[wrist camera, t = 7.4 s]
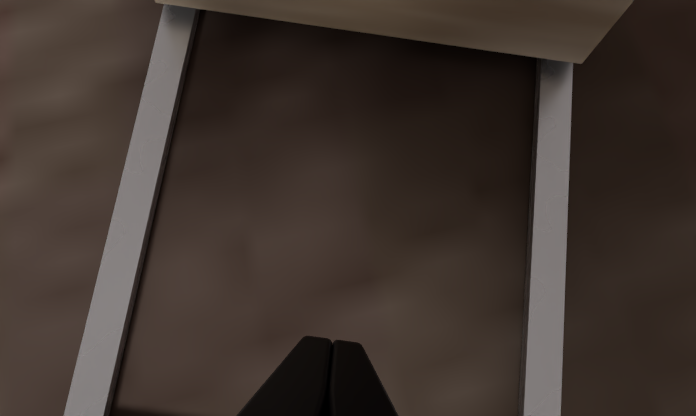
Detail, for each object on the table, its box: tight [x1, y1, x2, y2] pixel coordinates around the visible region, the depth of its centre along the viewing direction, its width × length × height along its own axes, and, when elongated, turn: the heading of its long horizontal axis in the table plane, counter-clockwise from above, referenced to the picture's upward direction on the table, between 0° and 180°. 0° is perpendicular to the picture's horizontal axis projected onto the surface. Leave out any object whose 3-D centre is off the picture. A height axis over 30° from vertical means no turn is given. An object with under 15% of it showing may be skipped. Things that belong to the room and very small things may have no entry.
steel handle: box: [64, 4, 573, 416], centre depth 19 cm, size 16×13×1 cm
